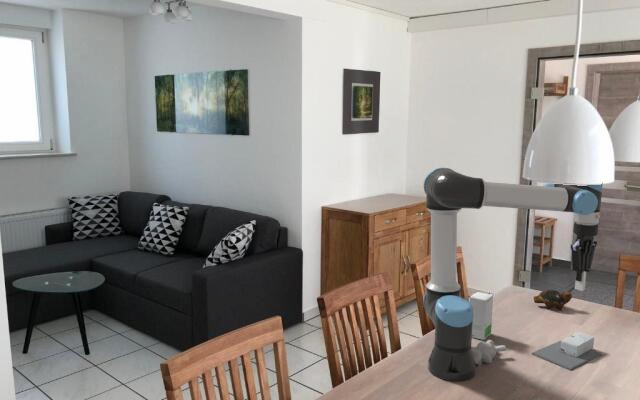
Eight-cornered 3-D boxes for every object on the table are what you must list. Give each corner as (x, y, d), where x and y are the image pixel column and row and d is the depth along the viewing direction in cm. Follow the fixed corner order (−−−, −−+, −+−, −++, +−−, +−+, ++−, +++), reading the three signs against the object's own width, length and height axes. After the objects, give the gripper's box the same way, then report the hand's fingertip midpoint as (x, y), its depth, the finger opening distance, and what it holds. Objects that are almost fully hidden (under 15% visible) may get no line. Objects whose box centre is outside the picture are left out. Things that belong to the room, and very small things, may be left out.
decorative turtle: (573, 313, 224) (574, 295, 222) (535, 312, 228) (535, 294, 226) (568, 304, 233) (569, 286, 232) (532, 303, 237) (532, 286, 235)
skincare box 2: (594, 336, 189) (578, 345, 182) (593, 348, 190) (577, 357, 182) (577, 331, 194) (560, 339, 186) (576, 343, 194) (559, 351, 187)
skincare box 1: (483, 340, 197) (486, 300, 194) (466, 336, 201) (468, 296, 198) (491, 333, 203) (494, 294, 201) (475, 329, 207) (477, 290, 205)
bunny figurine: (459, 348, 182) (486, 333, 190) (459, 362, 183) (486, 346, 191) (482, 358, 174) (509, 342, 182) (482, 372, 175) (509, 355, 184)
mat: (569, 370, 175) (570, 368, 175) (531, 354, 186) (531, 352, 186) (601, 354, 186) (602, 353, 186) (564, 340, 197) (564, 339, 197)
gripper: (586, 227, 174) (579, 296, 178) (607, 222, 182) (600, 289, 186) (565, 223, 180) (558, 289, 184) (585, 219, 188) (579, 283, 192)
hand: (579, 289), depth 185 cm, fingers closed
